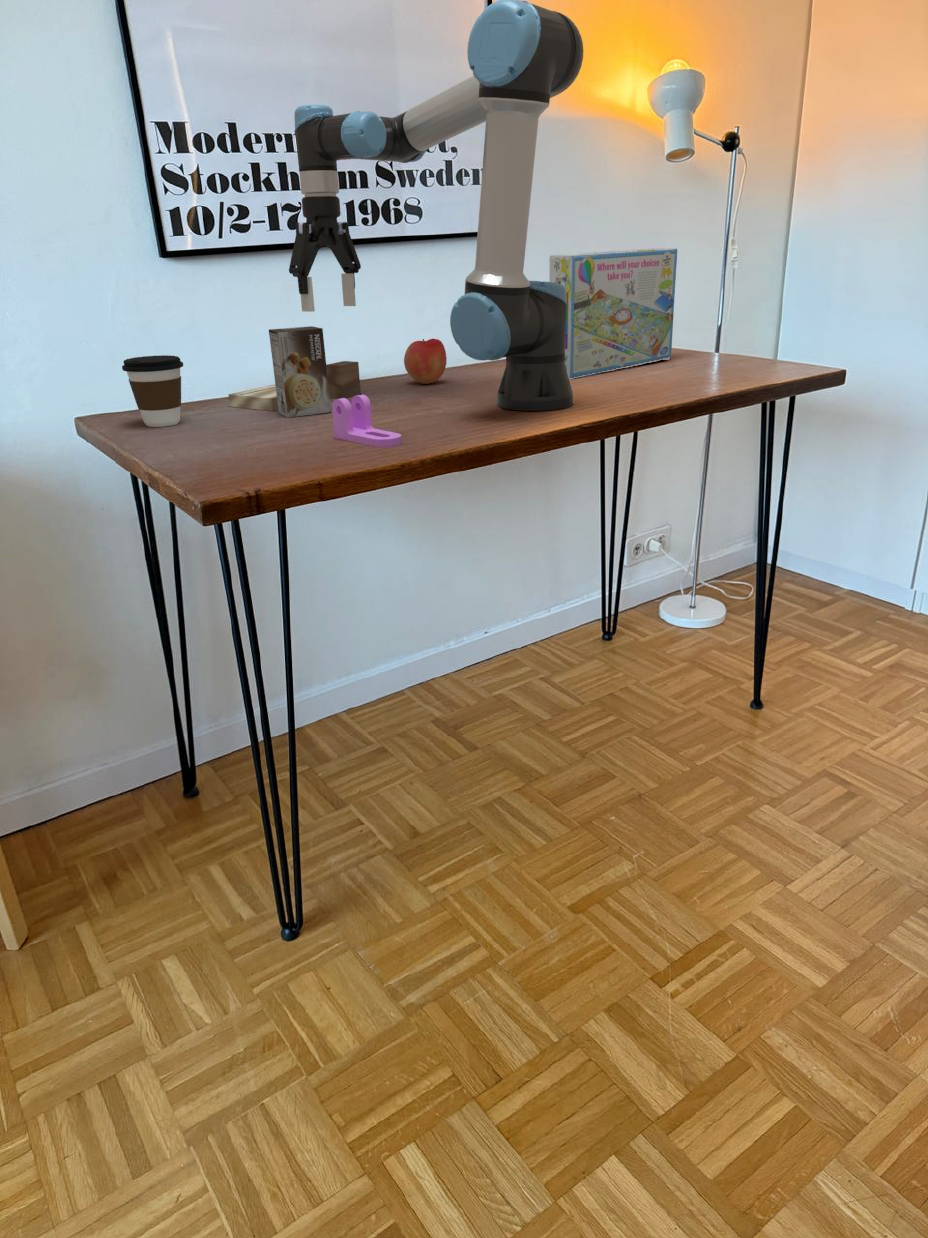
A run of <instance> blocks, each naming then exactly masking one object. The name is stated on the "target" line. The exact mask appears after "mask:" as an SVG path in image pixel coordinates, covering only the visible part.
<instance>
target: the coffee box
mask: <svg viewBox="0 0 928 1238" xmlns="http://www.w3.org/2000/svg"><path fill="white" fill-rule="evenodd" d="M268 335H269V342H270V352H271V359H272V368H273V377H274V384H275V386H276V394H277V402H278V410H277V411H278V413H279V414H280V415H283V416H284V417H286V418H288V419H289V418H296V417H298V418H299V417H304V416H311V415H319V414H328V413H331V412H332V405H331V398H330V396H329V387H328V377H327V366H326V365H327V359H326V349H325V340H324V329H323V327H316V326H312V325H311V326H298V327H287V328H273V329H271V328H270V329H268Z"/></svg>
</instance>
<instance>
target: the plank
mask: <svg viewBox="0 0 928 1238" xmlns="http://www.w3.org/2000/svg"><path fill="white" fill-rule="evenodd" d="M228 400H229V402H228V403H229V407H230V408H241V409H248V410H249V409H250V410H258V411H268V412H274V411H279V410H278V402H277V394H276V386H275V383H274V384H271V385H267V386H260V387H256V388H251V389H247V390H242V391H239V392H237V391H236V392H233V393H228Z"/></svg>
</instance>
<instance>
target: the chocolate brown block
mask: <svg viewBox="0 0 928 1238" xmlns="http://www.w3.org/2000/svg"><path fill="white" fill-rule="evenodd" d="M326 366H327V377H328V387H329V396H330V399H334V400H336V399H341V398H346V399H349V397H350V398H353V396H356V395H360V394H361V395H362V392H361V381H360V379H361V378H360V366H359V361H351V360H349V361H348V360H342V361H337V362H332V363H328V364H327V363H326Z"/></svg>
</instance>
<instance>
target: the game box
mask: <svg viewBox="0 0 928 1238" xmlns="http://www.w3.org/2000/svg"><path fill="white" fill-rule="evenodd" d="M548 262H549V282H554V283H559V284H561V285H563V286H564V288H565V290H566V302H567V308H566V337H565V367H566V371H567V374H568V377H569V378H574V377H578V376H582V375H588V374H592V373H598V372H602V371H607V370H612V369H616V368H621V367H626V366H631V365H635V364H639V363H644V362H649V361H654V360H659V359H663V358H668V357H671V358H672V352H673V351H672V346H673V332H674V331H673V328H674V310H675V297H676V296H675V293H676V277H677V264H678V248H676V247H669V248H668V247H666V248H665V247H664V248H663V247H662V248H661V247H660V248H659V247H658V248H640V249H628V250H627V249H626V250H625V249H624V250H609V251H596V252H595V251H594V252H581V253H579V252H578V253H570V254H569V253H568V254H567V253H566V254H553V255H549V261H548Z"/></svg>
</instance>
